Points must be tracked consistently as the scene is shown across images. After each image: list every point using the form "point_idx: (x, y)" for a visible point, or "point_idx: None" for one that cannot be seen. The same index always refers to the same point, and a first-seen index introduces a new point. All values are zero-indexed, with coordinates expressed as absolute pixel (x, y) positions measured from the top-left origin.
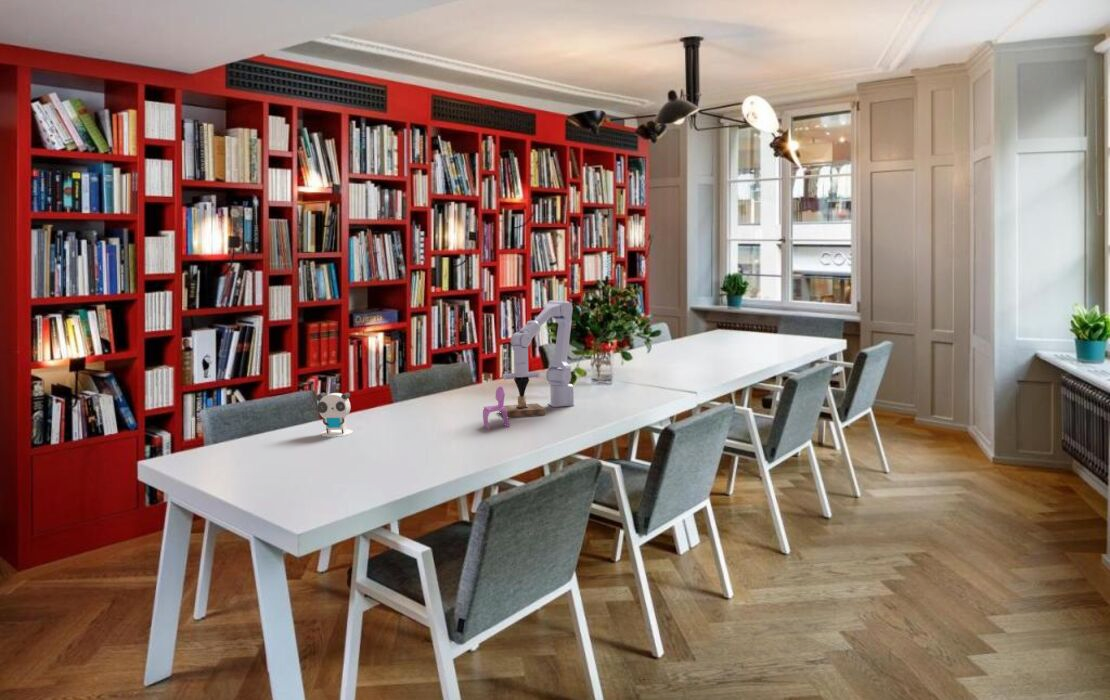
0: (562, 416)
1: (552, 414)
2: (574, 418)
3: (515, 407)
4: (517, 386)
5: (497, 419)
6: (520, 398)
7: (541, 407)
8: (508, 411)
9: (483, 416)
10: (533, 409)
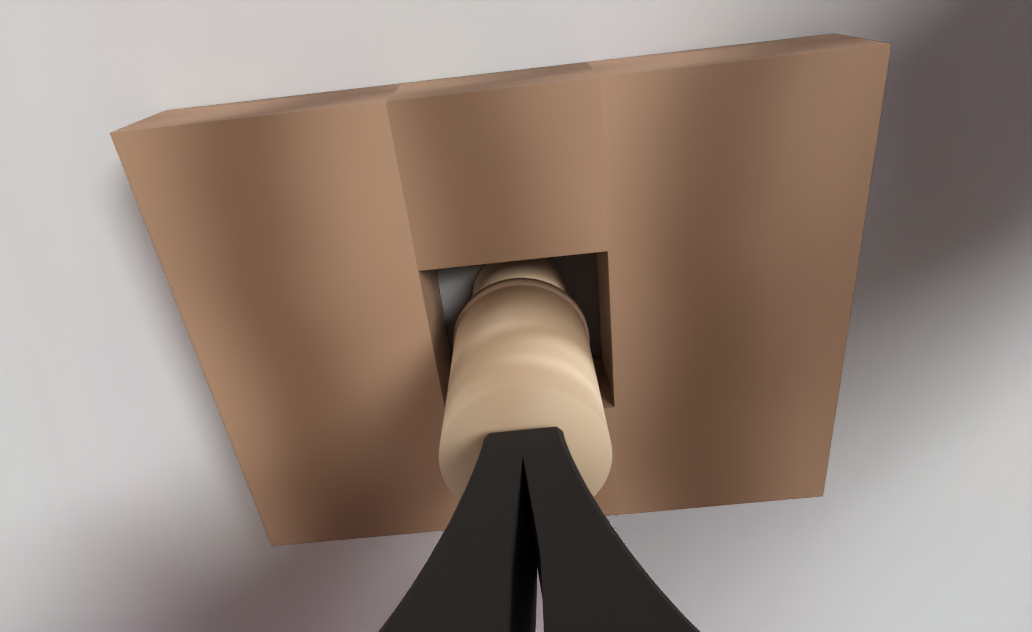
0: (935, 536)
1: (882, 429)
2: (995, 625)
3: (414, 323)
4: (415, 611)
5: (193, 520)
6: None
7: (808, 411)
8: (302, 535)
9: None
10: (654, 501)
